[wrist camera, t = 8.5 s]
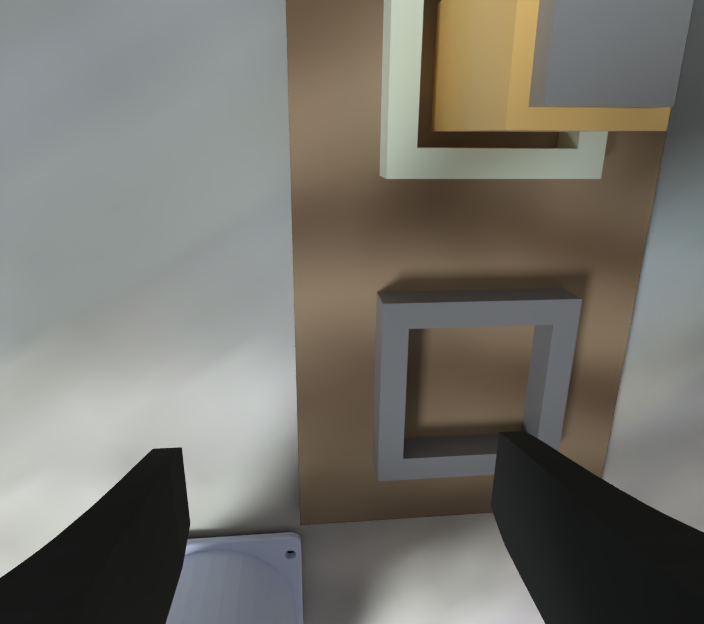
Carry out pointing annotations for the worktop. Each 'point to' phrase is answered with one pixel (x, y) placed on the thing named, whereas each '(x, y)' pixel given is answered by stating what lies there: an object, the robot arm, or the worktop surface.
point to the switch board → (438, 273)
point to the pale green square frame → (458, 162)
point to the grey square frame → (469, 311)
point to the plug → (557, 64)
